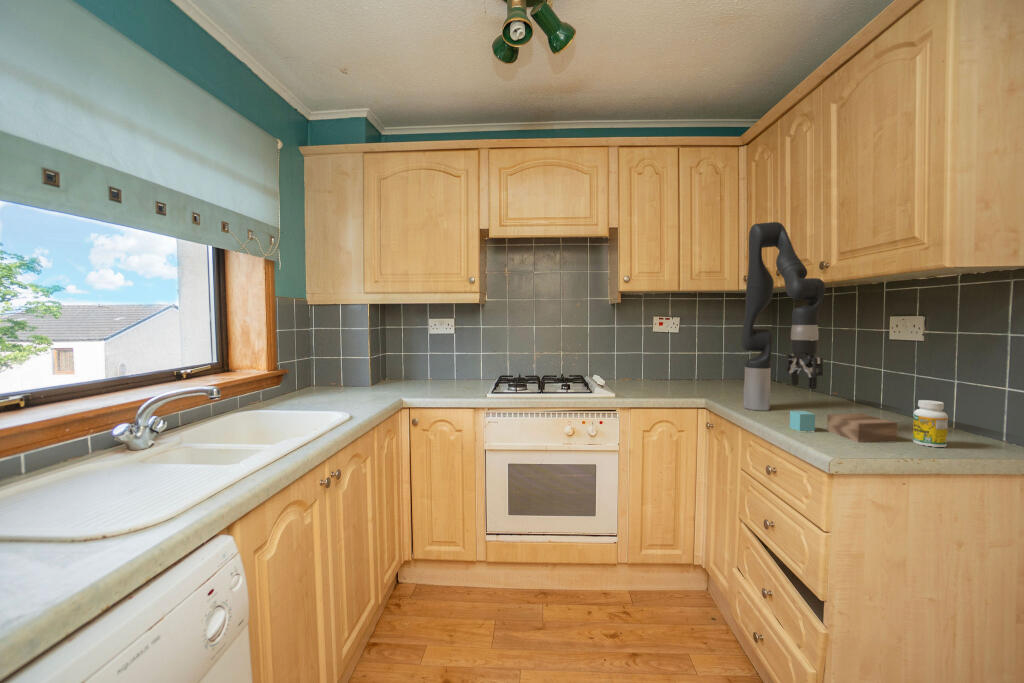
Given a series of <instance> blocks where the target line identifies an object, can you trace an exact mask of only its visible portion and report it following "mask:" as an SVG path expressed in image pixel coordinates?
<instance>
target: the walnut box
mask: <svg viewBox="0 0 1024 683" xmlns="http://www.w3.org/2000/svg"><path fill="white" fill-rule="evenodd" d="M826 422H827V423H826V432H827V431H829V432H832V433H835V434H838V435H840V436H839V437H841V436H843V437H842V438H844V437H846V438H845V439H847V438H848V439H847V440H850V439H851V440H850V441H853V440H854V441H853V442H856V441H857V442H856V443H881V442H880V441H896V442H897V434H898V433H897V432H898V422H894V421H890V420H888V419H884V418H880V417H875V416H872V415H867V414H864V413H851V414H850V413H848V414H847V413H846V414H843V413H842V414H840V413H839V414H835V413H834V414H827V420H826ZM829 432H828V433H829ZM832 433H831V434H832ZM835 434H834V435H835ZM838 435H837V436H838Z"/></svg>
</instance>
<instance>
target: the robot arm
mask: <svg viewBox="0 0 1024 683" xmlns="http://www.w3.org/2000/svg"><path fill="white" fill-rule="evenodd" d="M750 227H751V228H750V230H749V233H748V234H749V235H748V270H747V271H748V272H747V279H746V291H745V309H744V318H743V324H742V331H741V341H740V342H741V348H742V350H743V351H746V352H747V351H748V352H749V351H750V352H760V353H759V354H757V356H754V357H751V358H748V359H746V360H745V362H744V384H743V408H744V409H748V410H750V411H751V410H752V411H769V410H770V408H771V407H770V406H771V405H770V404H771V402H770V401H771V368H772V367H771V364H772V352H773V351H772V350H773V337H774V336H773V333H772V330H771V329H770V328H754V326H755V322H756V320H757V319H758V318H759V315H761V313H762V312H763V311H764V309H766V307H767V306H768V305H769V303H770V302H771V301H772V299H773V293H774V285H775V282H774V278H773V276H772V274H771V273H770V271H769V269H768V268H767V267H766V264H765V263H764V260H763V254H762V252H763V251H762V250H763V248H774V247H775V248H776V249H777V250H778V254H777V257H776V260H775V261H776V262H775V264H776V268H777V270H778V272H779V273H780V275H781V276H782V278H783V281H784V285H785V286H784V287H785V292H786V294H787V296H788V297H789V298H791V299H792V300H795V301H797V300H798V301H799V300H802V301H805V300H806V302H805V303H804V305H802V306H798V307H795V308H793V310H792V315H791V316H792V318H791V330H790V353H791V354H786V364H785V365H786V366H785V371H786V372H789V374H790V385H791V386H798V385H799V373H800V371H802V370H804V372H806V374H807V376H808V378H807V388H808V390H816V389H817V387H818V386H817V383H818V378H819V377H823V375H824V373H823V371H824V368H823V361H824V360H823V357H816V356H815V354H817V353H818V352H819V327H818V326H819V325H818V322H819V311H820V308H821V305H822V304H823V303H822V302H823V301H824V300H823V299H824V297H825V294H826V285H825V282H824V281H823V280H822V279H820V278H817V277H815V278H813V277H811V278H808V277H807V275H808V269H807V268H806V266H805V265H804V264H803V262H802V261H801V259H800V258H799V257H798V255H797V254H796V251H795V249H794V247H793V244H792V242H791V239H790V236H789V234H788V232H787V230H786V228H785V226H784V225H783V224H782V223H781V222H778V221H772V222H760V223H755V224H753V225H752V226H750ZM806 277H807V278H806ZM817 370H818V371H817Z"/></svg>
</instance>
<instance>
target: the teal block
mask: <svg viewBox="0 0 1024 683" xmlns="http://www.w3.org/2000/svg"><path fill="white" fill-rule="evenodd" d="M790 428H792V429H791V430H793V429H795V430H798V431H815V432H816V414H815V413H814V412H813V413H812V412H809V411H806V410H790V411H789V429H790ZM795 430H794V431H795ZM798 431H797V432H798Z"/></svg>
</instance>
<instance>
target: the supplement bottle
mask: <svg viewBox="0 0 1024 683" xmlns="http://www.w3.org/2000/svg"><path fill="white" fill-rule="evenodd" d="M944 403H945V402H943V401H938V400H937V401H936V400H927V399H919V400H918V402H917V406H918V407H919V408H917V409H915V410H914V411H913V417H912V418H913V420H912V421H913V425H912V427H913V428H912V441H913V443H914V444H916V445H918V444H919V446H922V445H925V446H924V447H928V446H932V447H931V448H935V447H944V448H946V447H947V445H948V444H947V443H948V425H949V415H948V413H946V412H944V411H943V410H944V408H945V404H944Z"/></svg>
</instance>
